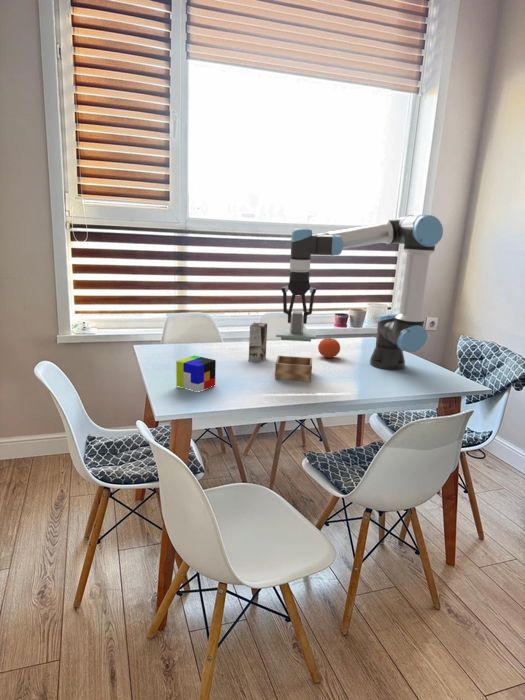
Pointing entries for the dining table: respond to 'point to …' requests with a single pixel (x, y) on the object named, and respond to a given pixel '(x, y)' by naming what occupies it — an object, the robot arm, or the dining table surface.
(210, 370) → the puzzle toy
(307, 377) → the crate
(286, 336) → the lid
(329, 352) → the orange fruit
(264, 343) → the coffee box
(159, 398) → the dining table surface
